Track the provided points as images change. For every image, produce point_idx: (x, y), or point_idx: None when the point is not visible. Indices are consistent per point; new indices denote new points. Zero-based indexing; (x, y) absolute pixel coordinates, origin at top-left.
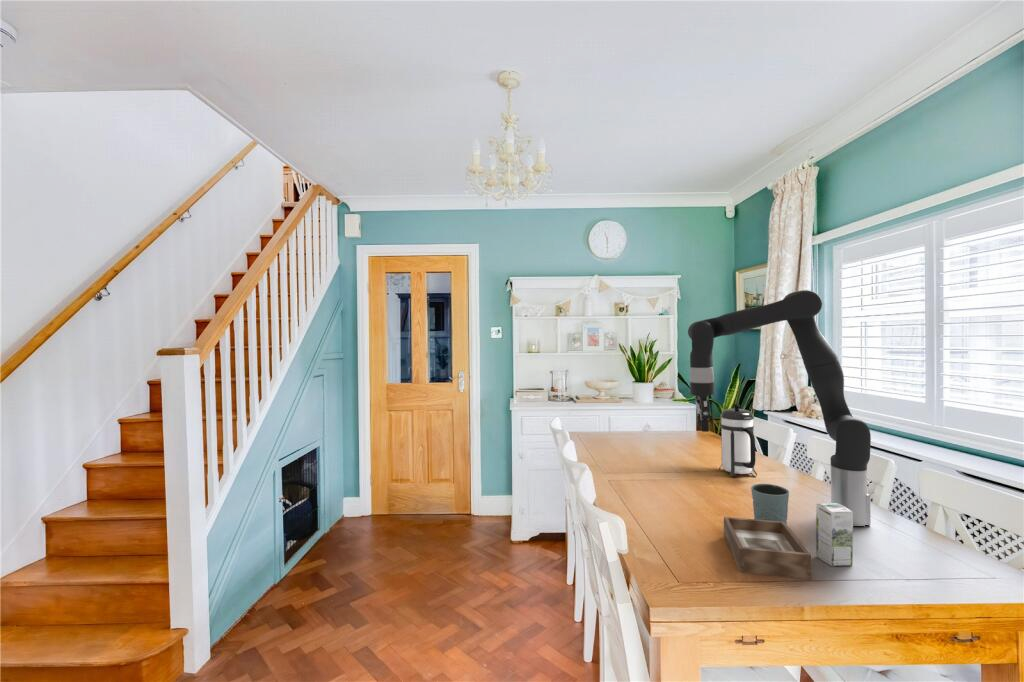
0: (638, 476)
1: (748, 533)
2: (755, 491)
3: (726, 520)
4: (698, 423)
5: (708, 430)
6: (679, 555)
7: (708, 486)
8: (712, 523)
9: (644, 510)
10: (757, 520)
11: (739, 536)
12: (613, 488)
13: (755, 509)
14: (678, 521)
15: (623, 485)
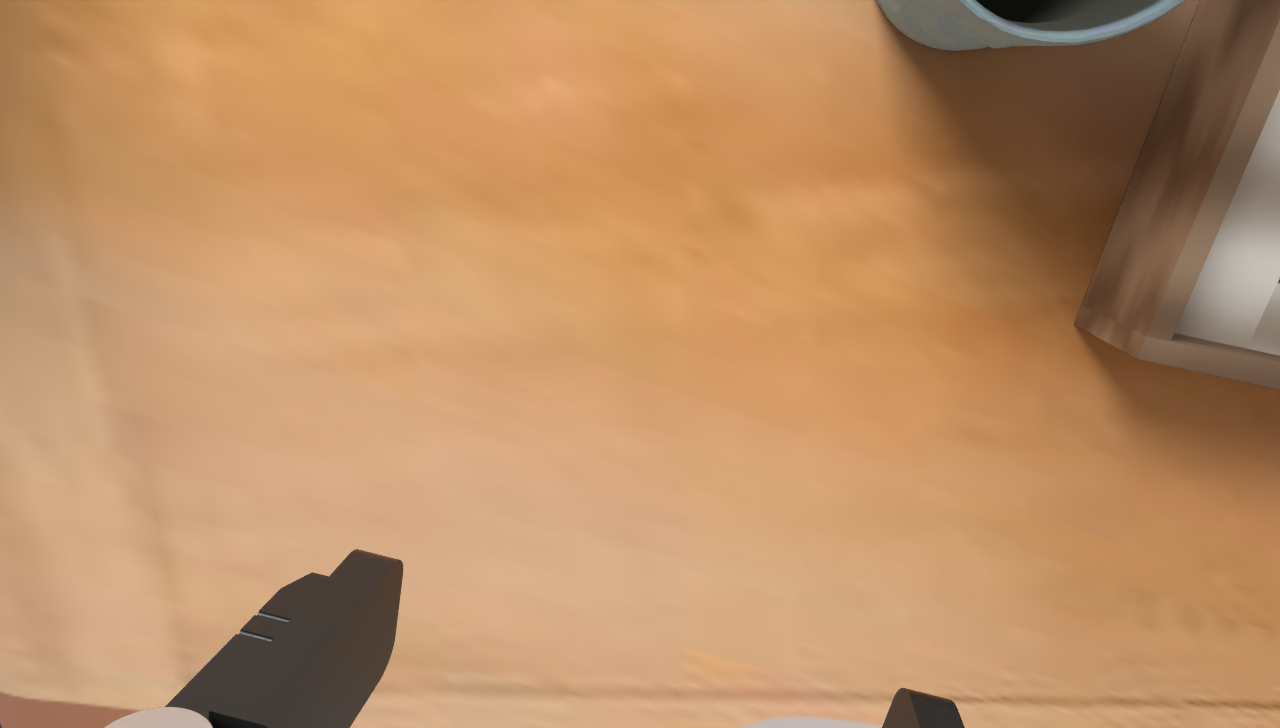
0: (80, 499)
1: (1228, 225)
2: (1110, 38)
3: (1203, 366)
4: (363, 697)
5: (956, 712)
6: (1246, 625)
7: (198, 80)
8: (873, 314)
9: (666, 621)
10: (1248, 144)
11: (1261, 304)
12: None
13: (1008, 46)
14: (830, 495)
15: None
